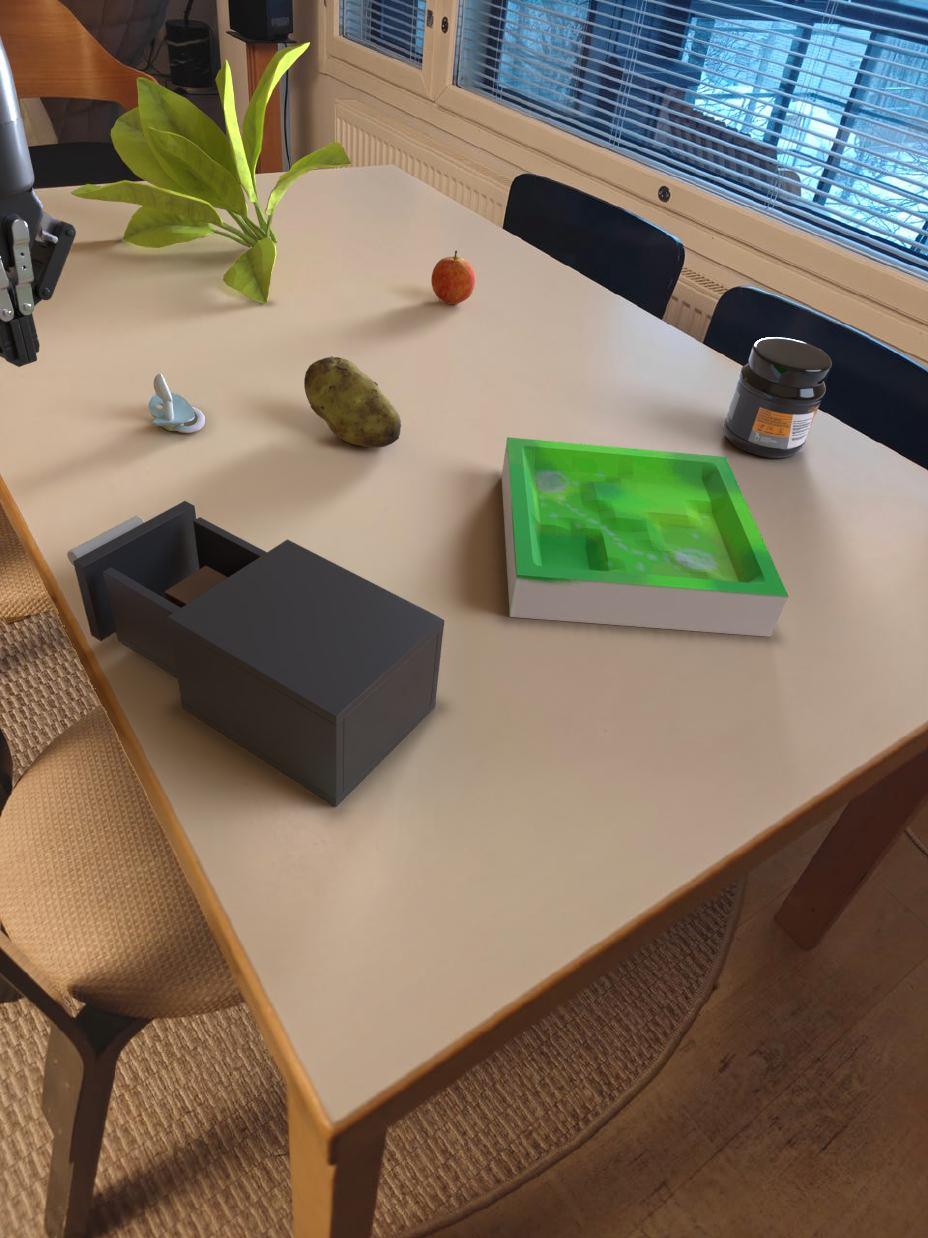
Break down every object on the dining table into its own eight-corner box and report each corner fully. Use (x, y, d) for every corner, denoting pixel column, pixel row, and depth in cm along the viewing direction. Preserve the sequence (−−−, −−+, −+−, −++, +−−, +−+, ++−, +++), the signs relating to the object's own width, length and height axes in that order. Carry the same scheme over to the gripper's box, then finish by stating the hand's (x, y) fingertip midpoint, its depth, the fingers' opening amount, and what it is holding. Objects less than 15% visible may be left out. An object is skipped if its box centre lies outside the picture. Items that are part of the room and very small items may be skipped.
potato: (345, 465, 98) (345, 400, 92) (295, 415, 105) (293, 352, 100) (407, 450, 101) (411, 387, 96) (355, 403, 109) (356, 342, 104)
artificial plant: (153, 250, 160) (25, 103, 135) (347, 116, 154) (250, -63, 129) (196, 389, 137) (51, 244, 113) (425, 238, 132) (326, 50, 107)
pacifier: (199, 407, 105) (147, 411, 102) (195, 358, 101) (142, 361, 98) (210, 437, 100) (156, 441, 97) (207, 386, 96) (150, 390, 93)
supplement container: (804, 468, 108) (841, 378, 100) (720, 451, 109) (750, 361, 101) (799, 430, 115) (832, 344, 108) (720, 414, 117) (748, 328, 109)
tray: (713, 494, 101) (725, 456, 97) (770, 636, 82) (788, 596, 78) (501, 475, 99) (507, 437, 96) (509, 616, 80) (517, 574, 77)
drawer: (56, 613, 73) (35, 538, 68) (161, 552, 81) (149, 481, 76) (217, 715, 66) (207, 641, 61) (315, 639, 74) (313, 567, 69)
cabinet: (182, 708, 68) (167, 616, 62) (291, 627, 76) (287, 538, 70) (336, 807, 62) (336, 717, 56) (435, 707, 70) (445, 619, 64)
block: (210, 657, 70) (205, 614, 67) (170, 633, 71) (163, 591, 68) (249, 628, 73) (246, 586, 70) (210, 606, 74) (205, 565, 71)
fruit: (466, 313, 135) (472, 261, 130) (424, 305, 136) (428, 253, 131) (477, 299, 140) (483, 248, 135) (436, 291, 141) (440, 240, 136)
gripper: (11, 86, 61) (62, 323, 73) (-184, 106, 52) (-92, 373, 64) (81, 107, 59) (123, 350, 70) (-112, 132, 50) (-29, 406, 61)
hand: (20, 361), depth 67 cm, fingers closed
